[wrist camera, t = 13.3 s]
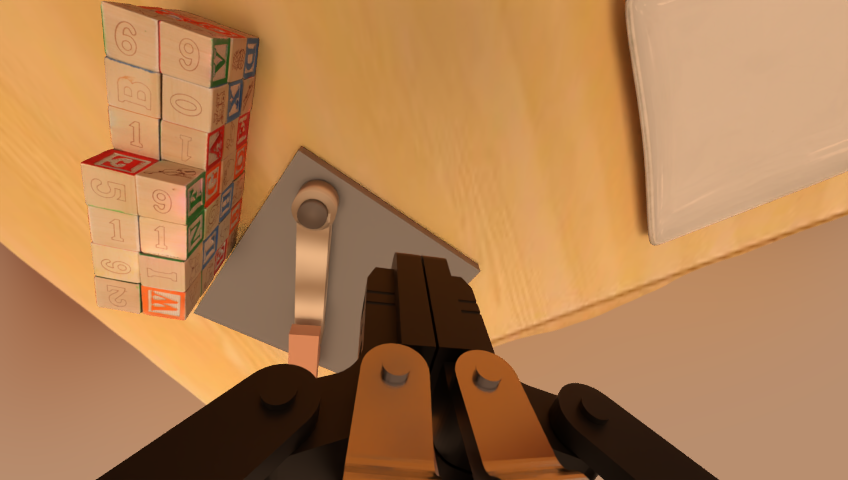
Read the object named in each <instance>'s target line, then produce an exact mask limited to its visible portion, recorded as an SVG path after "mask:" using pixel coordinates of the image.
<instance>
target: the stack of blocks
mask: <svg viewBox="0 0 848 480" xmlns="http://www.w3.org/2000/svg"><path fill="white" fill-rule="evenodd" d="M101 13H102V25H103V38H104V46H105V53H106V55H107V56H106V57H105V73H106V85H107V99H108V103H109V106H108V114H109V125H110V134H111V142H112V145H113V147H114V149H110V150H107V151H105V152H103V153H101V154H99V155H96V156H94V157H92V158H89V159H87V160H85V161H83V162H81V172H82V179H83V185H84V194H85V201H86V204H87V207H88V219H89V225H90V234H91V240H92V242H91V250H92V259H93V267H94V274H95V277H94V283H95V293H96V303H97V306H99V307H103V308H109V309H115V310H121V311H127V312H132V313H137V314H140V313H141V312H143V313H144V314H146V315H151V316H158V317H164V318H171V319H178V320H186V318H187V317H188V315H189V314H190V312H191V311H192V309H193V308H194V306H195V304H196V303H197V301H198V300H199V298H200V297H201V296H202V294H203V293H204V291H205V290H206V289H207V287H208V286H209V284H210V283H211V281H212V280H213V278H214V275H215V274H216V272H217V271H218V269H219V268H220V266H221V265H222V263H223V262H224V260H225V259H227V257H228V256H229V254H230V253H231V251H232V249H233V248H234V246H235V244H236V237H237V229H238V223H239V219H240V211H241V203H242V194H243V187H244V178H245V170H244V167H245V157H246V149H247V134H248V126H249V116H250V110H251V109H252V102H253V93H254V85H255V72H256V64H257V54H258V45H259V38H257V37H255V36H252V35H249V34H246V33H243V32H241V31H238V30H235V29H232V28H229V27H226V26H224V25H221V24H218V23H216V22H213V21H211V20H208V19H205V18H202V17H200V16H197V15H194V14H191V13H187V12H184V11H180V10H172V9H162V8H158V7H146V6H135V5H131V4H123V3H115V2H106V1H102V2H101Z"/></svg>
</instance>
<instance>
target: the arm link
mask: <svg viewBox="0 0 848 480" xmlns="http://www.w3.org/2000/svg"><path fill="white" fill-rule="evenodd" d="M338 205H339V196H338V193H337V191H336V189H335V188H334V187H333V186H332V185H330V184H329V183H327V182H325V181H321V180H312V181H309V182H306V183H305V184H304V185H303V186H302V187H301V188H300V190H299V192H298V194H297V195H296V197H295V199H294V201H293V203H292V207H291V212H292V215H293V218H294V219H295V221H296V222H297V233H296V279H295V324H298V325H312V326H321V333H320V344H321V342H322V337H323V332H324V327H325V315H326V301H327V288H328V275H329V262H330V249H331V235H332V223H333V222H334V220H335V217H336V213H337V209H338Z"/></svg>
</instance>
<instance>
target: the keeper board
mask: <svg viewBox="0 0 848 480" xmlns="http://www.w3.org/2000/svg"><path fill="white" fill-rule="evenodd" d="M312 180H321V181H325V182H327V183H329V184H330V185H332V186H333V187H334V188H335V189H336V191H337V193H338V196H339V205H338V209H337V213H336V217H335V220H334V222H333V223H332V235H331V249H330V262H329V275H328V288H327V301H326V315H325V327H324V332H323V337H322V342H321V344H320V333H321V326H312V325H298V324H295V279H296V233H297V222H296V221H295V219H294V218H293V215H292V212H291V207H292V203H293V201H294V199H295V197H296V195H297V194H298V192H299V190H300V188H301V187H302V186H303V185H304V184H305V183H306V182H309V181H312ZM395 252H399V253H407V254H415V255H420V256H421V255H423V256H431V257H439V258H446V260H447V262H448V266H449V269H450V273H451V276H457V277H462V278H463V279H464V280H465V282H466V283H467V284H468V283H469V282H470V281H471V280H472V279H473V278H474V277H475V276H476V275H477V274H478V273H479V272H480V269H479V266H478V264H476V263H475V262H473V261H472V260H470V259H469V258H468V257H466V256H465V255H463V254H462V253H460V252H459V251H457V250H456V249H454V248H453V247H451V246H450V245H448V244H447V243H445V242H444V241H442V240H441V239H439V238H438V237H436V236H435V235H433V234H432V233H430V232H429V231H427V230H426V229H424V228H423V227H421V226H420V225H418V224H417V223H415V222H414V221H412V220H411V219H409V218H408V217H406V216H405V215H403V214H402V213H400V212H399V211H397V210H396V209H394V208H393V207H392V206H390V205H389V204H387V203H386V202H384V201H383V200H381V199H380V198H378V197H377V196H375V195H374V194H372V193H371V192H369V191H368V190H366V189H365V188H363V187H362V186H360V185H359V184H357V183H356V182H354V181H353V180H351V179H350V178H348V177H347V176H345V175H344V174H342V173H341V172H339V171H338V170H336V169H335V168H333V167H332V166H330V165H329V164H327V163H326V162H324V161H323V160H321V159H320V158H319V157H317V156H316V155H314V154H313V153H311V152H310V151H308V150H307V149H305V148H304V147H302V146H301V147H300V149H299V150H298V152H297V153H296V155H295V156H294V158H293V160H292V161H291V163H290V164H289V166H288V167H287V169H286V170H285V172H284V173H283V175H282V177H281V178H280V180H279V181H278V183H277V184H276V186H275V187H274V189H273V191H272V192H271V194H270V195H269V197H268V198H267V200H266V201H265V203H264V204H263V206H262V208H261V209H260V211H259V212H258V214H257V215H256V217H255V218H254V220H253V222H252V223H251V225H250V226H249V228H248V229H247V231H246V232H245V234H244V236H243V237H242V239H241V240H240V242H239V243H238V245H237V246H236V248H235V249H234V251H233V253H232V254H231V256H230V257H229V259H228V260H227V262H226V263H225V265H224V267H223V268H222V270H221V271H220V273H219V274H218V276H217V277H216V279H215V280H214V282H213V284H212V285H211V287H210V288H209V290H208V291H207V293H206V294H205V296H204V298H203V299H202V301H201V302H200V304H199V305H198V307H197V308H196V310H195V311H194V313H195V314H197V315H200V316H202V317H204V318H207V319H209V320H212V321H214V322H216V323H219V324H221V325H223V326H226V327H228V328H231V329H233V330H235V331H238V332H240V333H243V334H245V335H247V336H250V337H252V338H254V339H257V340H259V341H262V342H264V343H266V344H269V345H271V346H274V347H276V348H278V349H281V350H283V351H286V352H288V353H289V361H288V364H293V365H297V366H300V367H303V368H305V369H307V370H308V371H310V372H311V373H312V374H313V375H314V376H315V377H316V378H317V376H318V365H319V366H321V367H324V368H326V369H328V370H331V371H333V372H336V373H339V372H341V371H344V370H346V369H347V368H349V367H350V366H351V365H353V364H354V363H355V362H356V361H357V360H358V347H359V335H360V322H361V314H362V308H363V302H364V295H365V289H366V283H367V277H368V276H369V275H370V273H371V272H372V271H373V270H374V268H375V267H379V268H388V269H391V267H392V262H393V257H394V254H395Z"/></svg>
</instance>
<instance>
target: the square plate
mask: <svg viewBox="0 0 848 480" xmlns="http://www.w3.org/2000/svg"><path fill="white" fill-rule="evenodd" d="M625 16H626V28H627V36H628V44H629V51H630V58H631V64H632V70H633V77H634V83H635V90H636V96H637V103H638V111H639V118H640V126H641V134H642V144H643V154H644V167H645V183H646V206H647V223H648V236H649V241H650V243H651V244H652V245H660V244H663V243H665V242H668V241H671V240H673V239H676V238H679V237H681V236H684V235H686V234H689V233H691V232H694V231H697V230H699V229H702V228H704V227H707V226H709V225H712V224H714V223H717V222H720V221H722V220H725V219H727V218H730V217H733V216H735V215H738V214H740V213H743V212H745V211H748V210H751V209H753V208H756V207H758V206H761V205H763V204H766V203H768V202H771V201H773V200H776V199H779V198H781V197H784V196H786V195H789V194H791V193H794V192H797V191H799V190H802V189H804V188H807V187H809V186H812V185H814V184H817V183H819V182H822V181H824V180H827V179H829V178H832V177H834V176H837V175H840V174H842V173H844V172H847V171H848V0H626V1H625Z"/></svg>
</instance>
